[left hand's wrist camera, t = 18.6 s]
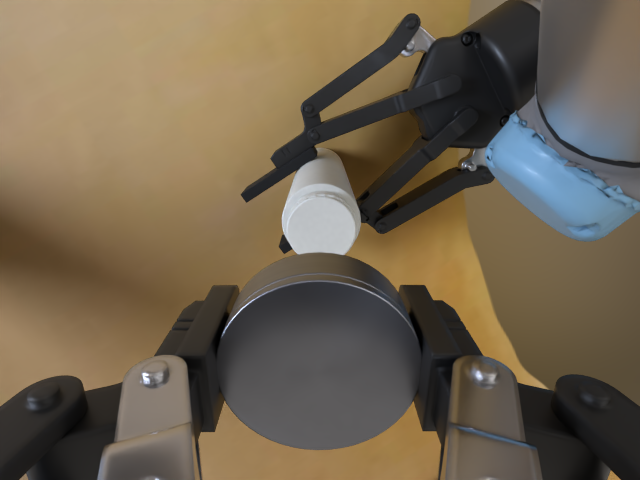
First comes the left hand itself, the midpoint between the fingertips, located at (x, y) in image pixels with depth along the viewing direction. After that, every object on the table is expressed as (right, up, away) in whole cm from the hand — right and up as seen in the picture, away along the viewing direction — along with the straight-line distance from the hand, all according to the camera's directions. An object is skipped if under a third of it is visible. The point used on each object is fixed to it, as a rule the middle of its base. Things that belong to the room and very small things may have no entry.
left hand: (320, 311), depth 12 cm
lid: (0, -1, -2) cm, 3 cm away
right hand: (-4, +4, +19) cm, 20 cm away
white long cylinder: (0, +9, +24) cm, 25 cm away
